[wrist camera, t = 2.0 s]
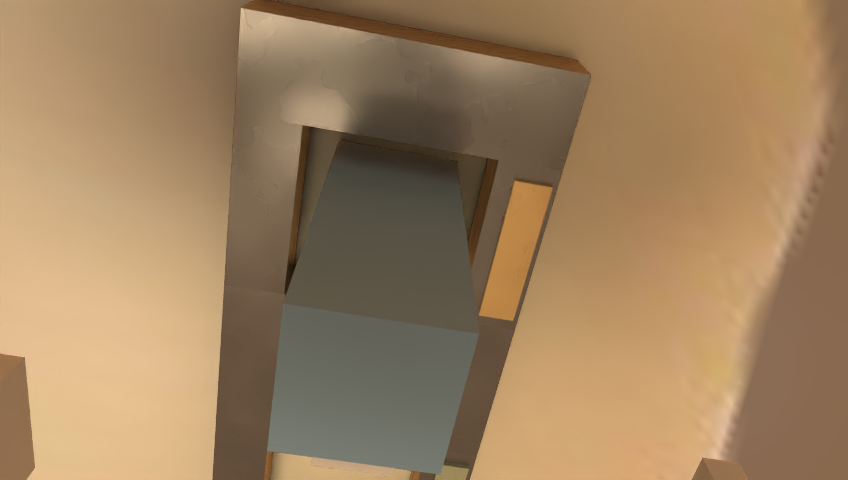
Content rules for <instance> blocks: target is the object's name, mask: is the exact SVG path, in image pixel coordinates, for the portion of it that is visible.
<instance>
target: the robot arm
mask: <svg viewBox="0 0 848 480" xmlns="http://www.w3.org/2000/svg"><path fill="white" fill-rule="evenodd" d="M34 468H35V463H34V452H33V441H32V430H31V420H30V409H29V398H28V388H27V377H26V366H25V357H18V356H11V355H5V354H0V480H27V478H28V477H29V475H30V474H31V472H32V471H33V470H34ZM692 480H748V478H747V476H746V475H745V473H744V471H743V469H742V467H741V466H740V464H739V463H735V462H728V461H721V460H715V459H708V458H702V460H701V462H700V464H699V466H698V468H697V470H696V472H695V474H694V476H693V478H692Z"/></svg>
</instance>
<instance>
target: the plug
mask: <svg viewBox="0 0 848 480" xmlns="http://www.w3.org/2000/svg"><path fill="white" fill-rule="evenodd" d="M478 337H479V329H478V321H477V313H476V305H475V298H474V290H473V282H472V274H471V266H470V258H469V250H468V243H467V235H466V227H465V219H464V211H463V203H462V195H461V188H460V180H459V172H458V164H457V161H452V160H447V159H441V158H435V157H430V156H424V155H419V154H413V153H407V152H402V151H396V150H390V149H385V148H379V147H374V146H368V145H362V144H357V143H351V142H345V141H340V140H339V143H338V145H337V148H336V151H335V154H334V157H333V160H332V163H331V166H330V169H329V172H328V174H327V177H326V180H325V183H324V186H323V189H322V192H321V195H320V198H319V201H318V203H317V206H316V209H315V212H314V215H313V218H312V221H311V224H310V227H309V230H308V233H307V235H306V238H305V241H304V244H303V247H302V250H301V253H300V256H299V259H298V262H297V264H296V267H295V270H294V273H293V276H292V279H291V282H290V285H289V288H288V291H287V293H286V296H285V299H284V302H283V308H282V318H281V327H280V336H279V345H278V354H277V364H276V373H275V382H274V391H273V401H272V410H271V419H270V428H269V438H268V447H267V451H272V452H279V453H286V454H294V455H301V456H308V457H312V460H311V466H317V467H324V468H332V469H339V470H346V471H354V472H361V473H368V474H376V475H383V476H391V477H393V476H394V471H395V468H396V469H403V470H411V471H418V472H425V473H433V474H440V475H441V472H442V468H443V465H444V461H445V457H446V454H447V450H448V446H449V443H450V439H451V435H452V432H453V428H454V424H455V421H456V417H457V413H458V410H459V406H460V402H461V399H462V395H463V391H464V388H465V384H466V380H467V377H468V373H469V369H470V366H471V362H472V358H473V355H474V351H475V348H476V344H477V340H478Z"/></svg>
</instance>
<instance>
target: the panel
mask: <svg viewBox="0 0 848 480" xmlns="http://www.w3.org/2000/svg"><path fill="white" fill-rule="evenodd" d="M590 79H591V74H590V73H589V72H588V71H587V70H586V69H585V68H584V67H583V66H582V65H581V64H580V63H579V61H578V60H574V59H569V58H564V57H559V56H554V55H548V54H543V53H538V52H533V51H528V50H523V49H517V48H512V47H507V46H502V45H497V44H492V43H486V42H481V41H476V40H471V39H466V38H461V37H456V36H450V35H445V34H440V33H435V32H430V31H425V30H419V29H414V28H409V27H404V26H399V25H394V24H388V23H383V22H378V21H373V20H368V19H363V18H358V17H352V16H347V15H342V14H337V13H332V12H327V11H321V10H316V9H311V8H306V7H301V6H296V5H290V4H285V3H280V2H275V1H270V0H253V1H251V2H250V3H248V4H246V5H245V6H243V7H242V8H241V15H240V32H239V49H238V65H237V82H236V99H235V115H234V132H233V148H232V165H231V182H230V198H229V215H228V232H227V248H226V265H225V281H224V298H223V315H222V331H221V348H220V365H219V381H218V398H217V414H216V431H215V448H214V464H213V480H270V474H271V465H272V456H273V452H272V451H267V447H268V438H269V428H270V419H271V410H272V401H273V391H274V382H275V373H276V364H277V354H278V345H279V336H280V327H281V318H282V308H283V302H284V299H285V296H286V293H287V291H288V288H289V285H290V282H291V279H292V276H293V273H294V270H295V267H296V265H294V263H295V254H296V245H297V237H298V228H299V219H300V210H301V202H302V193H303V184H304V175H305V166H306V158H307V149H308V140H309V131H310V126H311V127H317V128H322V129H328V130H333V131H339V132H345V133H350V134H356V135H361V136H367V137H373V138H378V139H384V140H389V141H395V142H401V143H406V144H412V145H417V146H423V147H429V148H434V149H440V150H445V151H451V152H457V153H462V154H468V155H473V156H479V157H485V158H488V161H487V165H486V169H485V174H484V178H483V182H482V186H481V190H480V194H479V198H478V202H477V206H476V210H475V214H474V218H473V223H472V227H471V231H470V235H469V239H468V250H469V258H470V266H471V274H472V282H473V290H474V298H475V305H476V313H477V321H478V329H479V337H478V340H477V344H476V348H475V351H474V355H473V358H472V362H471V366H470V369H469V373H468V377H467V380H466V384H465V388H464V391H463V395H462V399H461V402H460V406H459V410H458V413H457V417H456V421H455V424H454V428H453V432H452V435H451V439H450V443H449V446H448V450H447V454H446V457H445V461H444V465H443V468H442V472H441V475H440V474H433V473H425V472H418V471H411V475H410V479H409V480H470V476H471V473H472V470H473V466H474V463H475V460H476V456H477V453H478V450H479V447H480V443H481V440H482V437H483V433H484V430H485V427H486V423H487V420H488V417H489V413H490V410H491V407H492V403H493V400H494V397H495V393H496V390H497V387H498V384H499V380H500V377H501V374H502V370H503V367H504V364H505V360H506V357H507V354H508V350H509V347H510V344H511V340H512V337H513V334H514V331H515V327H516V324H517V321H518V317H519V314H520V311H521V307H522V304H523V301H524V297H525V294H526V291H527V287H528V284H529V281H530V277H531V274H532V271H533V268H534V264H535V261H536V258H537V254H538V251H539V248H540V244H541V241H542V238H543V234H544V231H545V228H546V224H547V221H548V218H549V214H550V211H551V208H552V205H553V201H554V198H555V195H556V191H557V188H558V185H559V181H560V178H561V175H562V171H563V168H564V165H565V161H566V158H567V155H568V151H569V148H570V145H571V142H572V138H573V135H574V132H575V128H576V125H577V122H578V118H579V115H580V112H581V108H582V105H583V102H584V98H585V95H586V92H587V88H588V85H589V82H590Z"/></svg>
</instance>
